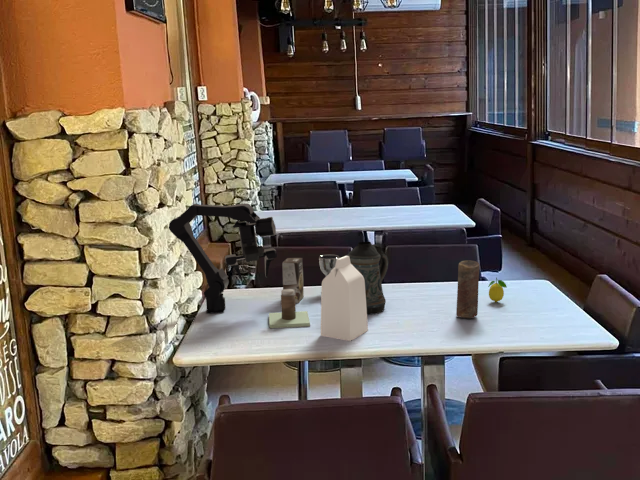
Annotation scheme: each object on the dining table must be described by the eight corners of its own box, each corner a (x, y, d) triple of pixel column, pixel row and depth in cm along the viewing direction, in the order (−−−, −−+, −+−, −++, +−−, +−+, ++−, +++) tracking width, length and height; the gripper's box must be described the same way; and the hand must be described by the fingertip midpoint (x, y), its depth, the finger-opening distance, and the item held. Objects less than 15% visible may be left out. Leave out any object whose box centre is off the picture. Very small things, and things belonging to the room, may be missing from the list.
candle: (480, 315, 255) (481, 261, 251) (475, 321, 248) (476, 265, 244) (459, 313, 258) (459, 259, 254) (453, 319, 252) (454, 264, 248)
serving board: (269, 328, 247) (269, 324, 247) (269, 316, 261) (268, 313, 260) (310, 326, 248) (309, 322, 248) (307, 314, 262) (307, 311, 261)
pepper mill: (287, 320, 251) (286, 293, 249) (279, 317, 254) (278, 290, 253) (298, 318, 254) (297, 290, 252) (290, 314, 257) (289, 288, 256)
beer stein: (335, 313, 263) (333, 246, 258) (352, 298, 280) (351, 236, 275) (378, 317, 256) (377, 249, 251) (393, 302, 274) (393, 238, 269)
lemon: (506, 305, 267) (507, 279, 265) (490, 305, 267) (491, 279, 265) (502, 300, 273) (502, 274, 271) (486, 300, 274) (487, 275, 272)
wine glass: (319, 290, 293) (318, 254, 290) (338, 289, 294) (337, 254, 291) (320, 295, 286) (319, 259, 283) (340, 294, 286) (339, 258, 283)
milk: (350, 341, 232) (349, 263, 227) (320, 335, 238) (318, 259, 233) (368, 330, 242) (367, 255, 237) (338, 325, 248) (337, 252, 243)
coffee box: (299, 303, 276) (297, 262, 273) (283, 302, 277) (281, 262, 274) (304, 296, 285) (303, 257, 281) (288, 296, 286) (287, 257, 283)
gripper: (223, 245, 252) (230, 288, 255) (275, 237, 255) (281, 279, 258) (222, 240, 263) (228, 281, 266) (272, 232, 266) (278, 273, 269)
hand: (254, 279), depth 265 cm, fingers open, 9 cm apart
